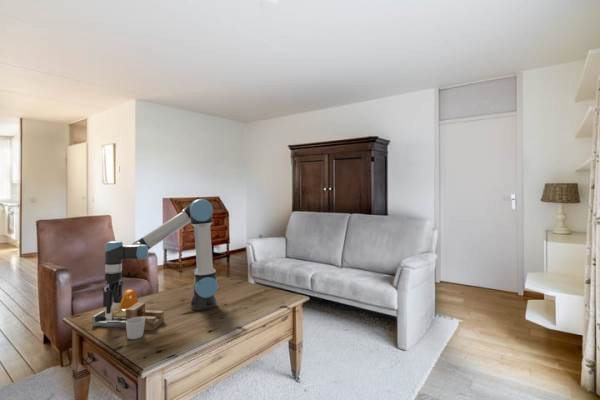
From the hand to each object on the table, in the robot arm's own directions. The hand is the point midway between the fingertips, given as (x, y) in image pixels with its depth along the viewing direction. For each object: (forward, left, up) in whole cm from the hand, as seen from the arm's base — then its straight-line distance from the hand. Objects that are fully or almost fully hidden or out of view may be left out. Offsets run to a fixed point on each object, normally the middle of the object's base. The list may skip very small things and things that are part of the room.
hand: (112, 317), depth 165 cm
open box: (-17, 0, -3) cm, 17 cm away
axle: (-5, 0, 0) cm, 5 cm away
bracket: (0, -17, -4) cm, 17 cm away
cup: (-19, +13, -4) cm, 23 cm away
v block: (-2, 0, -3) cm, 4 cm away
